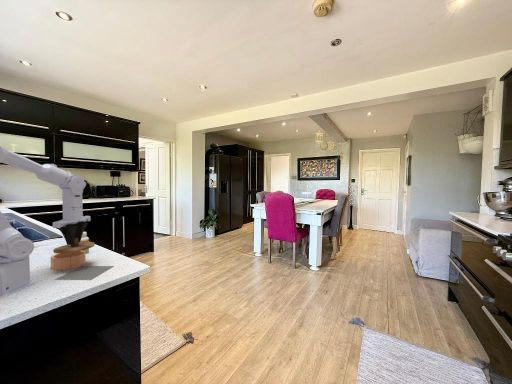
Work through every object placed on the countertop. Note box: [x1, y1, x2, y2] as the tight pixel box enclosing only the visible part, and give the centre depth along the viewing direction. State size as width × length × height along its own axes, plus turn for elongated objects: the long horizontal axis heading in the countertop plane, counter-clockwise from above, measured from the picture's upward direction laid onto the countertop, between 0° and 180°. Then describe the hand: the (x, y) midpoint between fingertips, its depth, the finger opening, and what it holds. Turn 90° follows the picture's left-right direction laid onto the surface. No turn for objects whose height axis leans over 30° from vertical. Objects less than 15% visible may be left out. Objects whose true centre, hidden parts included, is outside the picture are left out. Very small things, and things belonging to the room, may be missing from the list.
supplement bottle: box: [79, 231, 90, 255], centre depth 100 cm, size 5×5×10 cm
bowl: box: [50, 251, 87, 271], centre depth 86 cm, size 10×10×4 cm
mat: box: [54, 265, 115, 281], centre depth 79 cm, size 12×12×1 cm
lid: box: [52, 238, 96, 254], centre depth 84 cm, size 12×12×4 cm
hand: (73, 243), depth 84 cm, fingers closed on lid, 2 cm apart
